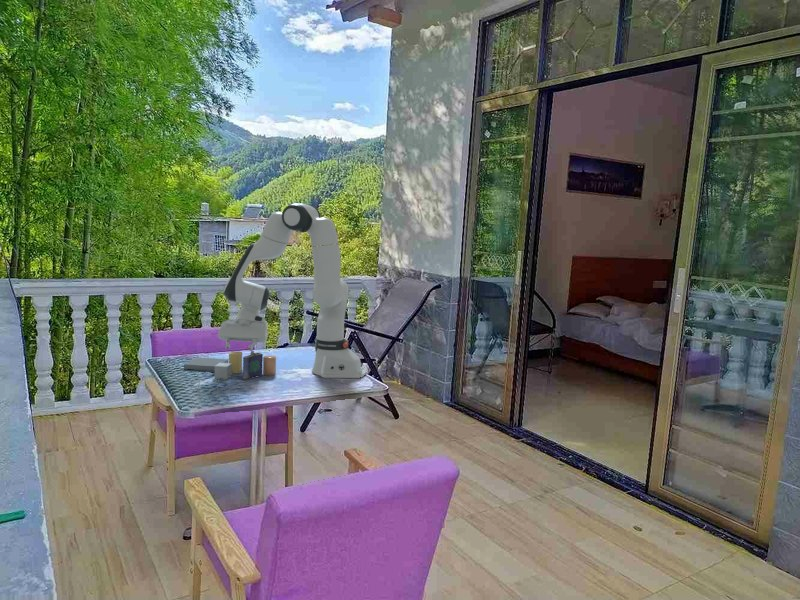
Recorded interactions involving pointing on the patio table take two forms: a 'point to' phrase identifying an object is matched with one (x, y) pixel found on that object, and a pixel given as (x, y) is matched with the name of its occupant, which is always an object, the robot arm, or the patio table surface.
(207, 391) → the patio table surface
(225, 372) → the grey block
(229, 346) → the robot arm
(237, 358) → the ochre block
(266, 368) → the brown upright cylinder
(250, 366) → the flask
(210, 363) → the slate tile
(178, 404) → the patio table surface
